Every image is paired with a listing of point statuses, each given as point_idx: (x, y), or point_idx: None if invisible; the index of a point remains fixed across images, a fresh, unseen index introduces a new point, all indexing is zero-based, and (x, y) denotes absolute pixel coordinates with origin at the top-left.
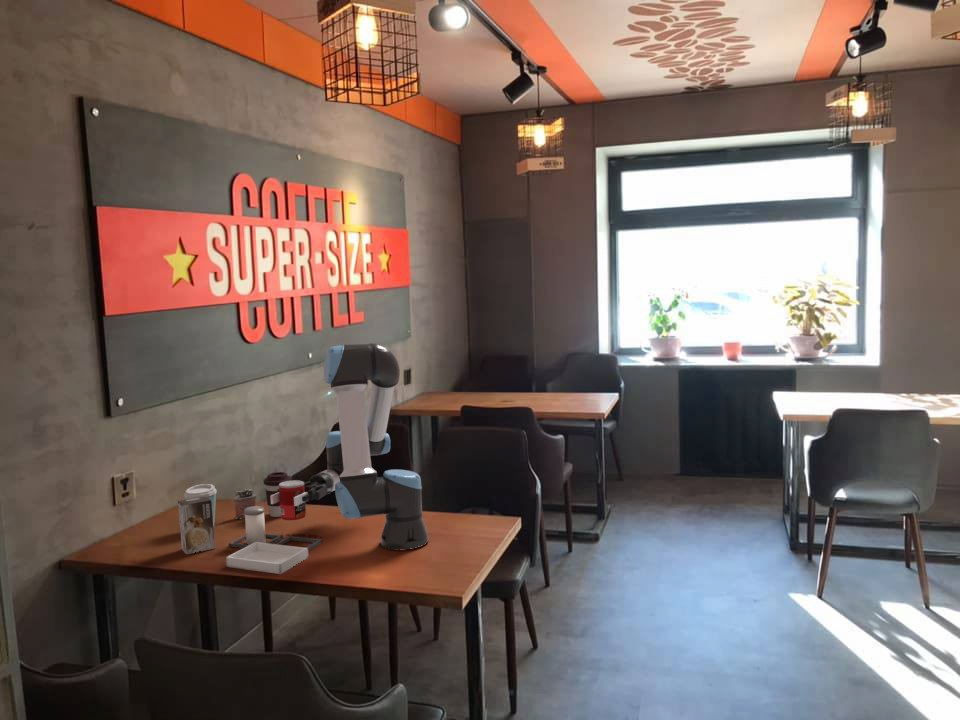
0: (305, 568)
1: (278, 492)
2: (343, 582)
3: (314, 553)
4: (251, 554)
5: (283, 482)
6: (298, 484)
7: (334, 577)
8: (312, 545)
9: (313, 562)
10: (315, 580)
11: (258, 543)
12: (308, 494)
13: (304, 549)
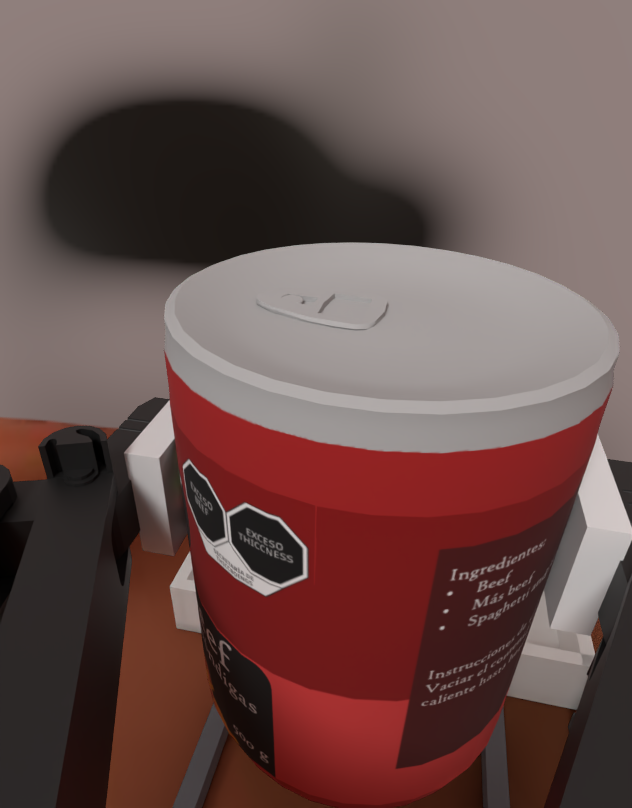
0: None
1: (594, 447)
2: (3, 430)
3: (147, 700)
4: (539, 619)
5: (584, 335)
6: (256, 315)
7: (33, 455)
8: (175, 803)
9: (136, 571)
10: (109, 436)
11: (560, 652)
12: (118, 475)
13: (187, 566)
